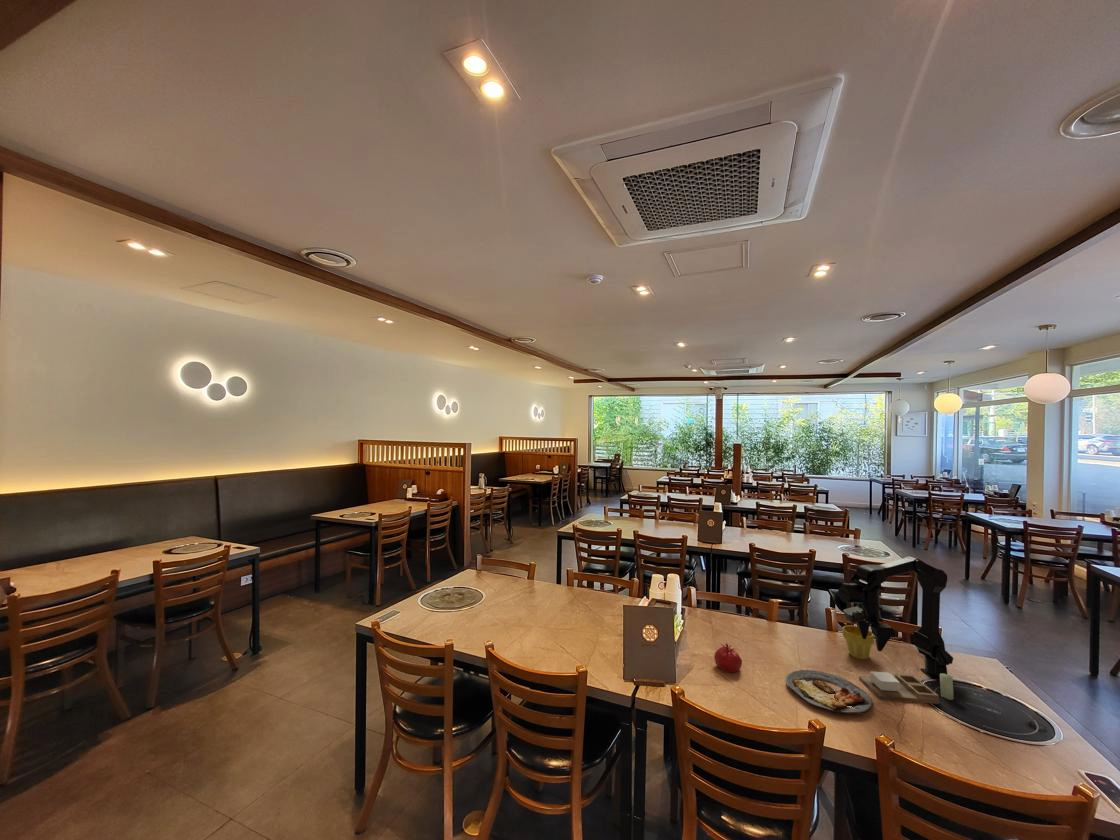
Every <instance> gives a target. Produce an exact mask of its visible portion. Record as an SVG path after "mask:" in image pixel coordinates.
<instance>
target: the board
mask: <svg viewBox="0 0 1120 840" xmlns="http://www.w3.org/2000/svg"><path fill="white" fill-rule="evenodd" d="M894 676H895V677H894V678H895V679H897V680H898V681H899V682H900V691H887V690H881V689H880V688H878V687H877V686H876V685H875V684H874V683H873V682H872V681H871V676H867V675H858V677H859V681H860V682H861V683H862V684H863V685H864V686H865V687H866V688H867V689H868V690H869V691H870V692H872V694H873V695H874V696H875V697H876V698H877V699H878V700H881V701H882V700H883V701H894V702H895V701H897V702H907V703H908V702H909V703H910V702H911V703H920V704H921V703H922V704H923V703H924V704H933V705H939V704H940V699H939V698H940V696H939V694H937V693H936V692H935V691H934V690H932V689H931V688H930V687H928V685H926V684H925V683H924V682H922V681H921V680H920V679H919V678H917V677H916V675H913V674H912V675H911V674H899V673H894Z"/></svg>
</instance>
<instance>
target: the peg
mask: <svg viewBox="0 0 1120 840" xmlns="http://www.w3.org/2000/svg"><path fill="white" fill-rule="evenodd" d="M953 683H954V682H953V676H951V675H950V674H948V673H947V674H944V673H940V679H939V685H940V687H939V688H940V696H941V697H942V698H943V697H944V698H943V699H945V698H946V699H945V700H949V701H953V699H954V698H955V697H954V684H953Z"/></svg>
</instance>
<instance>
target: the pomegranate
mask: <svg viewBox="0 0 1120 840" xmlns="http://www.w3.org/2000/svg"><path fill="white" fill-rule="evenodd" d="M721 646H722V647H720V648H717V650H716V651H715V653H714V657H713V658H714V662H715V665H716V666H717V667H718V668H719V669H720V670H722V671H725V672H726V671H727V673H731V672H732V673H736V672H738V671H740V670H741V668H742V664H743V660H742V658H741V657H740V655H739V653H738V652H737V651H736V650H739V649H737V648H734V647H733V648H731V647H732V645H729V643H727V642H725V645H724V644H721Z"/></svg>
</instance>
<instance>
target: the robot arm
mask: <svg viewBox="0 0 1120 840" xmlns="http://www.w3.org/2000/svg"><path fill="white" fill-rule="evenodd" d="M910 572H914V573H915V574H916V577H917V582H918V584H919V585H920V587H921V589H922V593H921V597H922V598H921V623H920V624H921V627H920V628H919V629H918V630H914V631H913V632H912V633H913V639H912V641H913V642H914V646H915V647H916V650H917V651H918V653H919V654H922V655H923V657H924V668H920V671H921V672H922V673H924V674H925V675H926V676H928V677H929V678H931V679H933V680H940V673H944V674H948V668H947V666H949V665H950V664H951V665H952V664H953V661H954V657H953V656H952V655H951V654H950V653H949V652H948V651H947V650H946V645H945V640H944V639H943V638H942V635H941V634H940V610H941V608H940V607H941V593H942V592H943V591H944V590H945V589H946V587H947V582H948V575H947V573H946V572H945V571H944V570H942V569H940V568H937V567H934V566H932V565H930V564H928V563H925V562H924V561H923V560H922V559H920V558H916V557H914V556H910V555H909V556H905V557H904V558H900V559H896V560H893V561H889V562H886V563H885V562H884V563H882V564H863V565H862V564H861V565H858V566H857V568H856V570H855V572H854V573H853V575H852V576H851V578H850V579H849V583H846V582H842V584H841V586H840V587H839V588H838V590H837V594H838V597H839V599H840V600H841V602H843V603H845V604H855V603H856V606H852V607H848V608H845V609H843V610H842V612H843V614H844V616H845V619H846V621H849V623H851V624H854V623H856V624H857V625H856V626H858V628H859V630H860V633H861V636H862V638H863V639H866V637H867V634H868V630H870V631H871V633H872V634H873V635H874V640H875V643H876V648H877V649H876V650H877V652H882V651H883V649H884V648H885V646H886V645H887V643H888V642H889V641H890V639H891V638H895V637H897V633H896V632H897V630H896V629H894V628H893V626H891V625H889V624H888V623H882V622H884V619H883V617H881V611H883V606H882V605H880V591H885V590H886V589H885V588H884V587H883V586H882V585H881V584H884V583H885V582H886V581H887V580H888V579H889V578H891V577H894V576H899V575H903V574H907V573H910Z"/></svg>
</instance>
